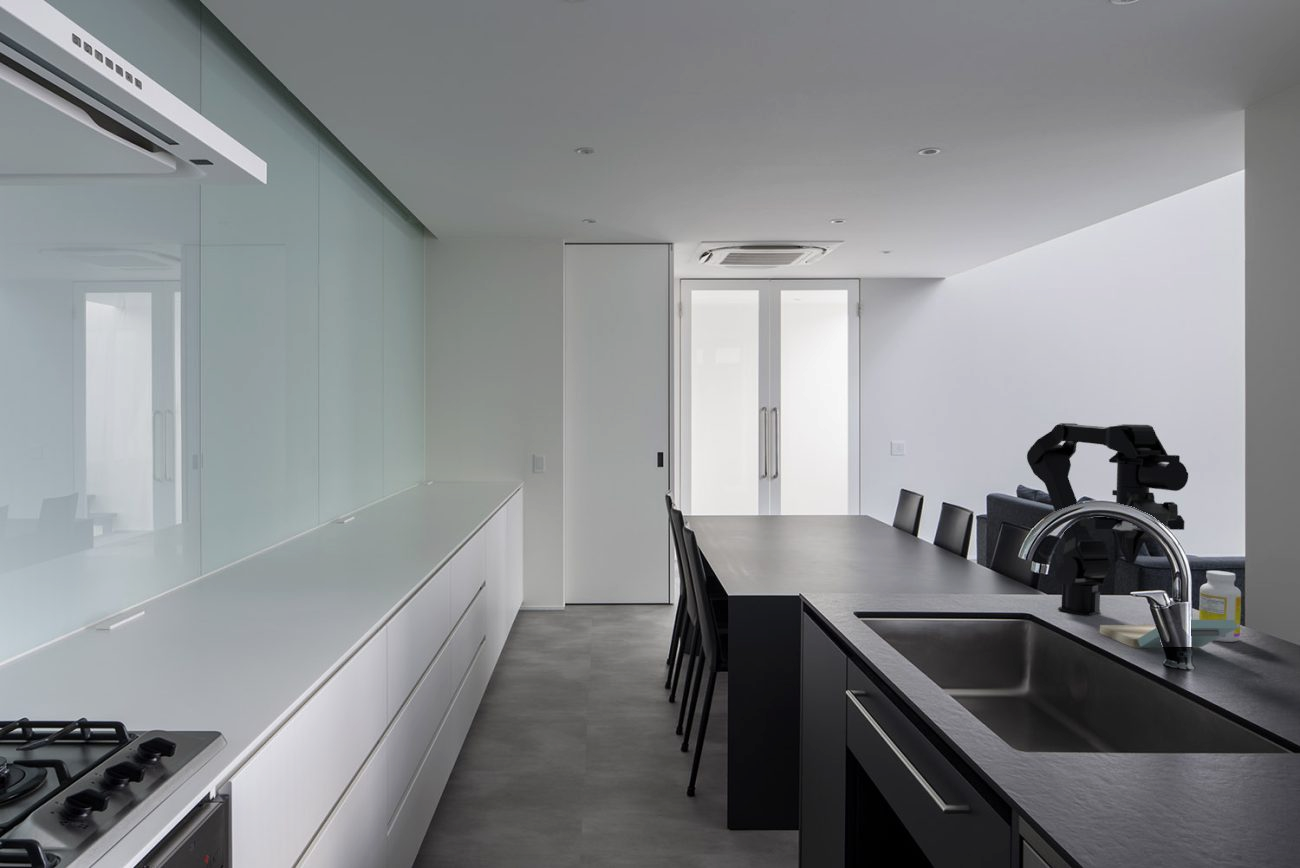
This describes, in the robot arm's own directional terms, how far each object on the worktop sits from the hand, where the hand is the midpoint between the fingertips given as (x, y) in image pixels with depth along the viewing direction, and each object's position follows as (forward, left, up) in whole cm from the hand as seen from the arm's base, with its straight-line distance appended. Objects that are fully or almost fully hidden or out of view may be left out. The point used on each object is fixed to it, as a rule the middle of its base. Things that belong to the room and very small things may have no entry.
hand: (1130, 563), depth 169 cm
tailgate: (+11, -11, -12) cm, 20 cm away
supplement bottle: (+14, +6, -13) cm, 20 cm away
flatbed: (+6, -7, -13) cm, 16 cm away
